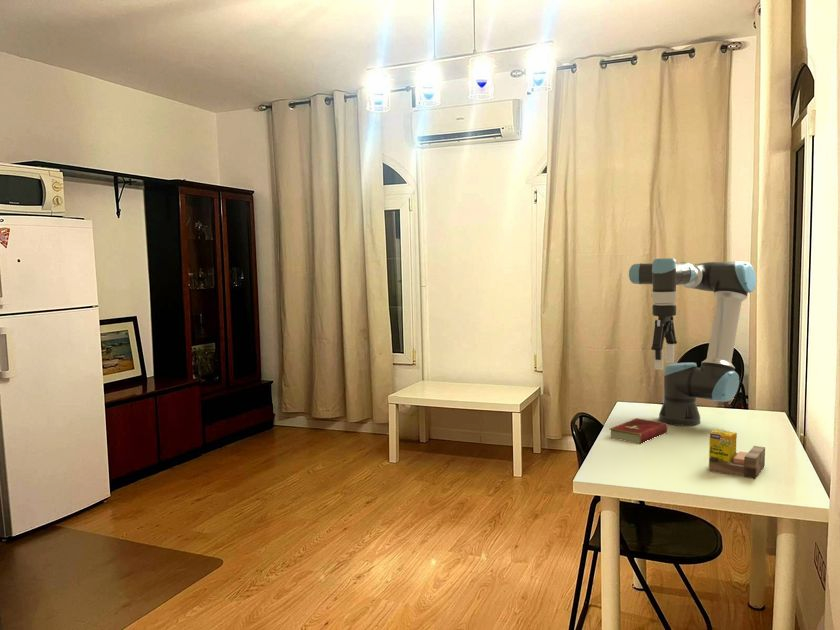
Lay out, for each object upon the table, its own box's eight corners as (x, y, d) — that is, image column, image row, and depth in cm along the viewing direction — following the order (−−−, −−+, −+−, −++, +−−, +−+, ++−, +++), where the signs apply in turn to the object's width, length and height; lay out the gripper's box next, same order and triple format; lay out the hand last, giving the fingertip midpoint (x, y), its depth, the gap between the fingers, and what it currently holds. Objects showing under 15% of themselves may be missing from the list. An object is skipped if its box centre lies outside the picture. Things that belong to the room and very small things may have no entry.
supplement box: (708, 468, 194) (709, 432, 193) (715, 463, 198) (716, 428, 198) (729, 472, 190) (729, 436, 189) (736, 467, 194) (736, 432, 194)
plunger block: (739, 464, 196) (739, 451, 196) (750, 465, 194) (750, 453, 194) (733, 471, 190) (733, 458, 189) (744, 473, 188) (744, 459, 188)
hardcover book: (667, 433, 235) (667, 422, 235) (640, 445, 221) (640, 433, 220) (636, 428, 244) (636, 417, 244) (609, 439, 229) (609, 427, 229)
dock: (720, 459, 202) (720, 440, 202) (764, 466, 195) (765, 447, 194) (709, 470, 191) (709, 451, 191) (755, 479, 184) (755, 458, 183)
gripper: (663, 300, 228) (663, 359, 230) (641, 307, 208) (642, 371, 210) (685, 300, 224) (685, 360, 226) (665, 307, 204) (665, 373, 206)
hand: (664, 365), depth 218 cm, fingers open, 13 cm apart
